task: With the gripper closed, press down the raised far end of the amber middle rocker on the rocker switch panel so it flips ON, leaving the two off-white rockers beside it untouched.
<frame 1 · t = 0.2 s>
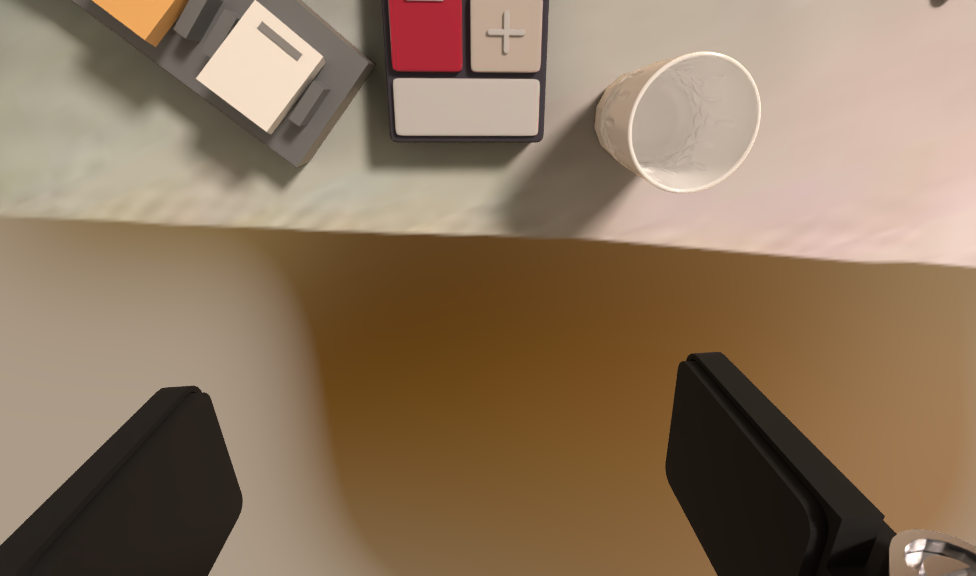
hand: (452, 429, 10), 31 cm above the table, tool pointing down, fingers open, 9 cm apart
rocker 2: (263, 70, 30), point 5 cm above the table, hinge at -15.0°
calculator: (465, 31, 35), on the table
white cup: (635, 117, 37), on the table
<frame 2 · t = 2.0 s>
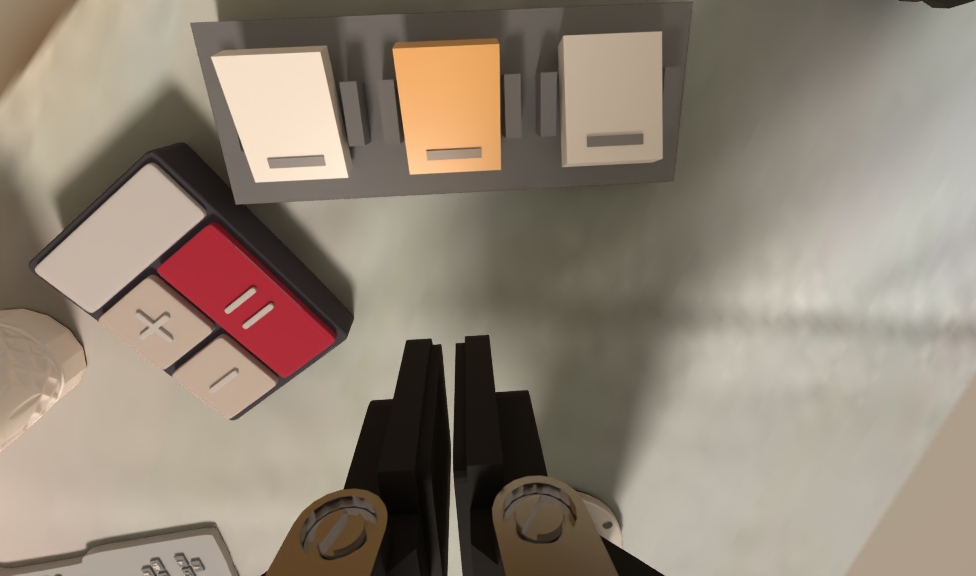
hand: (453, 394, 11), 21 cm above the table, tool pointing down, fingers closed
rocker 2: (289, 117, 23), point 5 cm above the table, hinge at -15.0°
calculator: (222, 281, 32), on the table
white cup: (37, 350, 33), on the table
rocker switch panel: (452, 107, 28), on the table
rocker middle: (451, 110, 24), point 5 cm above the table, hinge at -15.0°
rocker 1: (610, 101, 24), point 5 cm above the table, hinge at 15.0°
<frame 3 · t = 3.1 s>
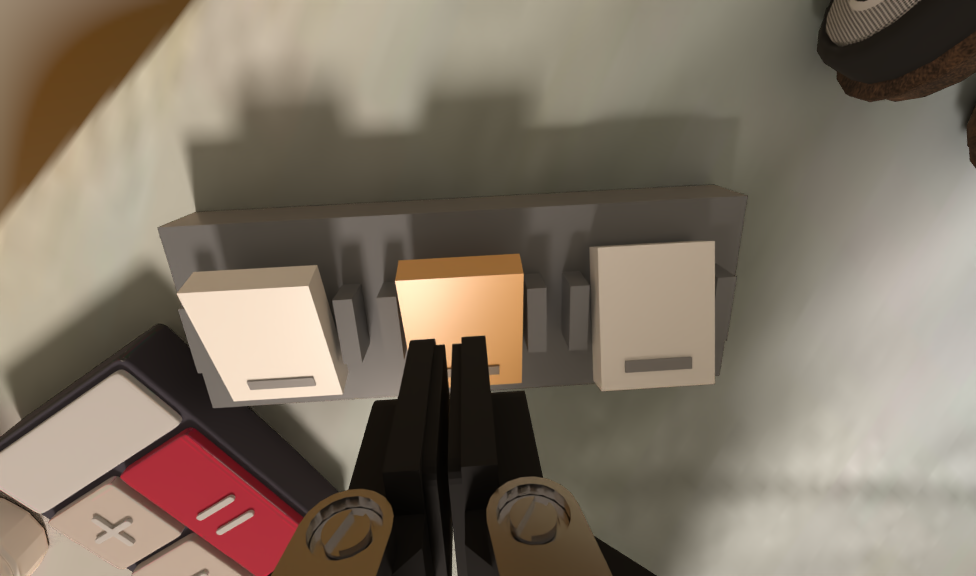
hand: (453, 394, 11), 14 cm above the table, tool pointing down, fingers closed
rocker 2: (272, 337, 20), point 5 cm above the table, hinge at -15.0°
calculator: (198, 457, 28), on the table
rocker switch panel: (464, 284, 24), on the table
rocker middle: (464, 326, 20), point 5 cm above the table, hinge at -15.0°
rocker 1: (651, 314, 20), point 5 cm above the table, hinge at 15.0°
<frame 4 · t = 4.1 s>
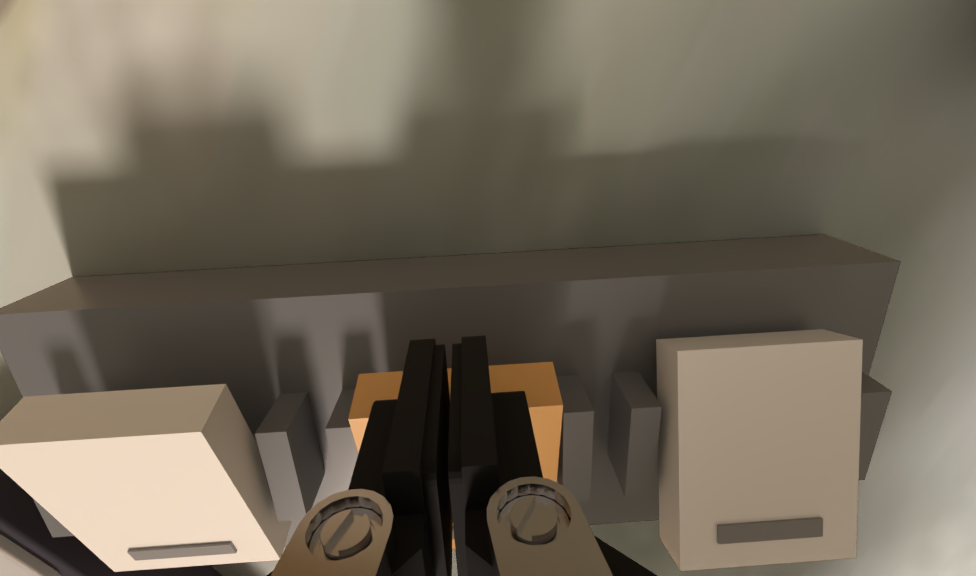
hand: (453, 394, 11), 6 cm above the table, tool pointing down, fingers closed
rocker 2: (164, 487, 13), point 5 cm above the table, hinge at -15.0°
rocker switch panel: (464, 372, 17), on the table
rocker middle: (464, 467, 13), point 5 cm above the table, hinge at -13.7°, touching gripper
rocker 1: (754, 446, 13), point 5 cm above the table, hinge at 15.0°
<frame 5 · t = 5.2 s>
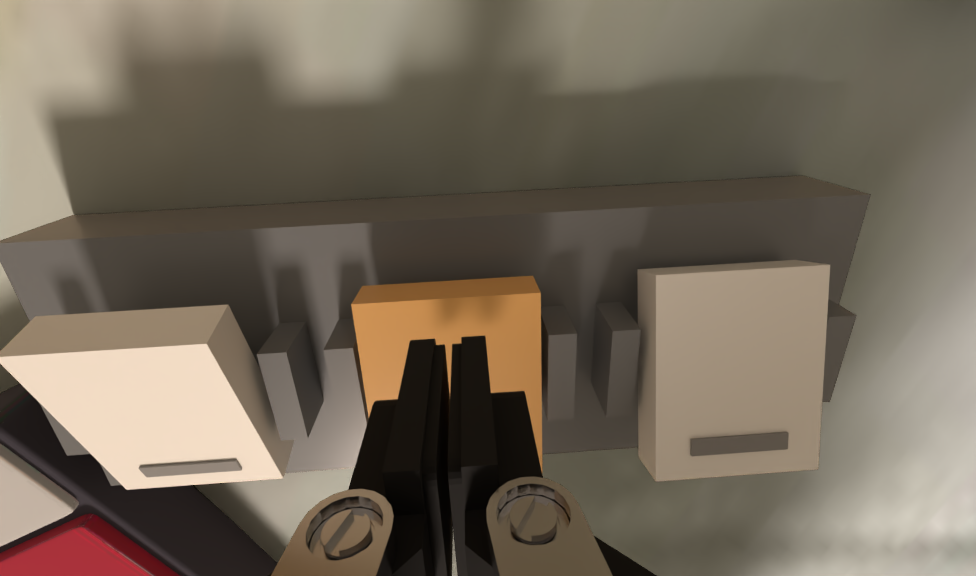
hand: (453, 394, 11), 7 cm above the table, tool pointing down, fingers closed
rocker 2: (171, 407, 13), point 5 cm above the table, hinge at -15.0°
calculator: (110, 521, 22), on the table
rocker switch panel: (456, 311, 18), on the table
rocker middle: (455, 387, 14), point 5 cm above the table, hinge at 4.3°
rocker 1: (727, 368, 14), point 5 cm above the table, hinge at 15.0°
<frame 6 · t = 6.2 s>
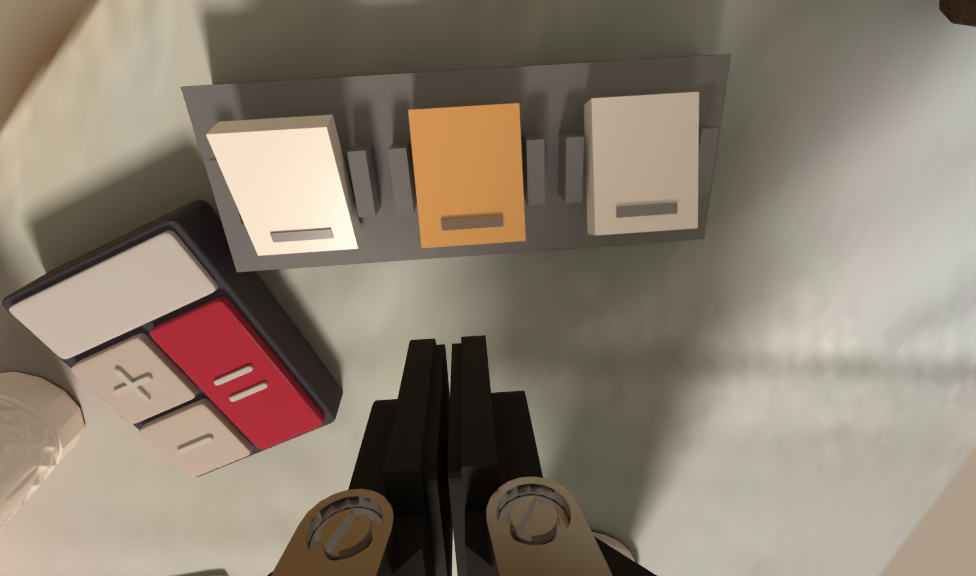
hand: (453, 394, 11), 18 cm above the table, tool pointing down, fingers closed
rocker 2: (292, 189, 21), point 5 cm above the table, hinge at -15.0°
calculator: (211, 335, 30), on the table
white cup: (32, 410, 31), on the table
rocker switch panel: (466, 159, 26), on the table
rocker middle: (468, 177, 22), point 5 cm above the table, hinge at 12.0°
rocker 1: (640, 166, 22), point 5 cm above the table, hinge at 15.0°
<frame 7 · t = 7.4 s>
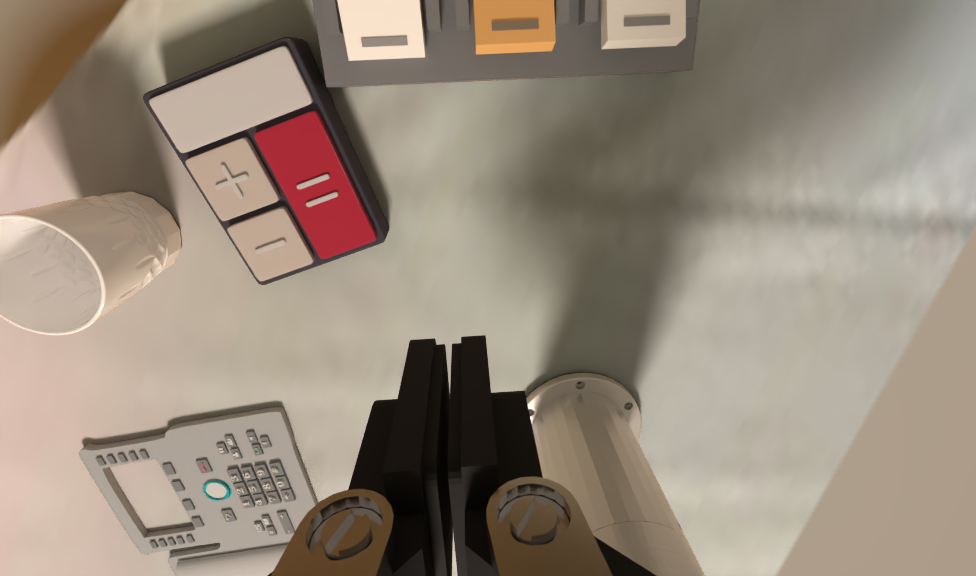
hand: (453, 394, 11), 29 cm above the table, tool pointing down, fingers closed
rocker 2: (380, 2, 28), point 5 cm above the table, hinge at -15.0°
calculator: (289, 166, 37), on the table
white cup: (140, 232, 38), on the table
rocker switch panel: (505, 9, 33), on the table
office telephone: (226, 504, 50), on the table
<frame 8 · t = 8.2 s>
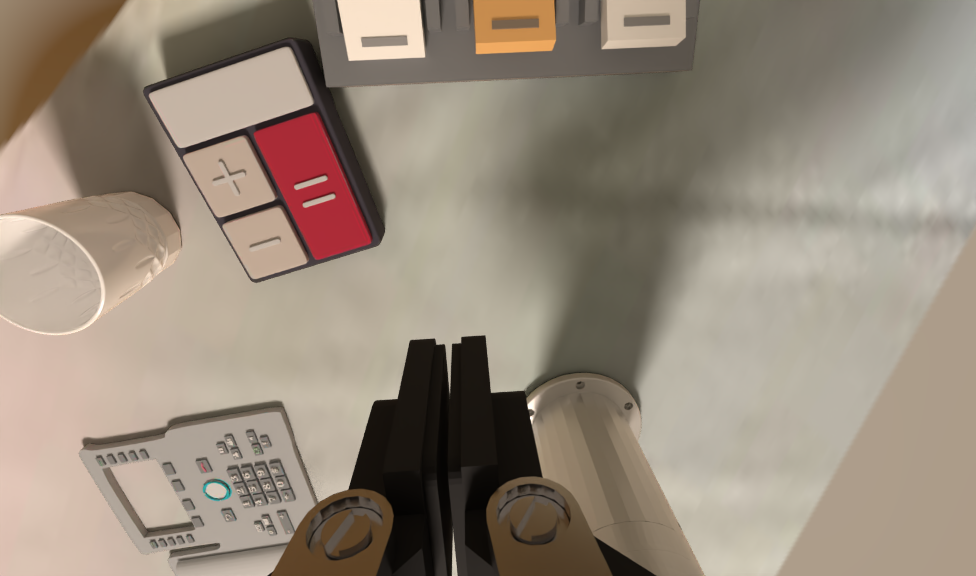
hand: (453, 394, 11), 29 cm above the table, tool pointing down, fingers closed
rocker 2: (380, 2, 28), point 5 cm above the table, hinge at -15.0°
calculator: (287, 164, 37), on the table
white cup: (140, 232, 38), on the table
rocker switch panel: (505, 9, 33), on the table
office telephone: (226, 504, 50), on the table
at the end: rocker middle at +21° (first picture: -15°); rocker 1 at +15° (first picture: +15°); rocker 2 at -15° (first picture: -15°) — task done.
